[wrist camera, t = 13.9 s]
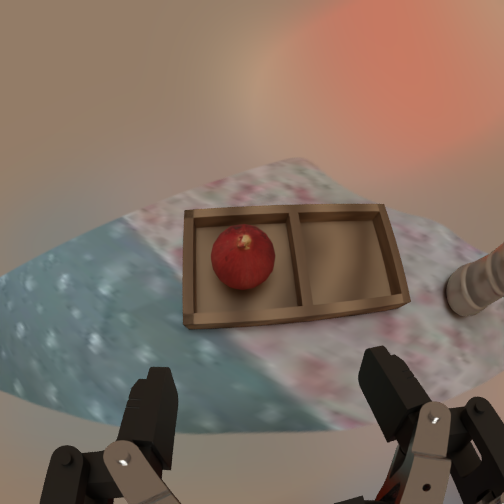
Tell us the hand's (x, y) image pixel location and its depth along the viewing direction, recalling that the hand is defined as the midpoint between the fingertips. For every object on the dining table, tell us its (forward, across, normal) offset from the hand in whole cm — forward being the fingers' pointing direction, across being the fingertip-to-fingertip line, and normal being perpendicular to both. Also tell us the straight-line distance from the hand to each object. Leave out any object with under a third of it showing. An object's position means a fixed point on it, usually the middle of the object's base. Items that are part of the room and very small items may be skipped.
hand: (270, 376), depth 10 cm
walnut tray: (+19, -6, +4) cm, 20 cm away
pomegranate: (+19, 0, +4) cm, 19 cm away
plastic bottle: (+15, -27, +9) cm, 32 cm away
